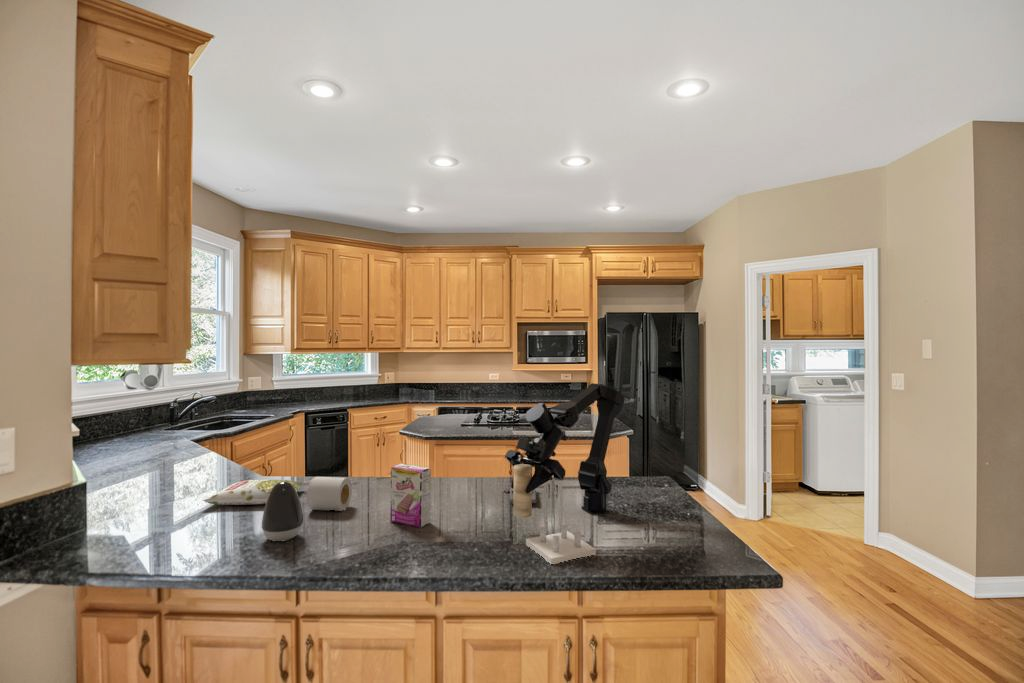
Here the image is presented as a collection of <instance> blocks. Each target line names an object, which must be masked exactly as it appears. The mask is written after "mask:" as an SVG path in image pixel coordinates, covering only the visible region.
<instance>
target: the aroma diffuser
mask: <svg viewBox="0 0 1024 683" xmlns="http://www.w3.org/2000/svg"><path fill="white" fill-rule="evenodd" d="M303 524H304V514H303V509H302V503H301V501H300V496H299V494H298V492H297V490H295V488H294V486H293V485H292V484H291V483H289V482H285V481H283V482H279V483H277V484H276V485H275V486H274V487H273V488H272V490H271V492H270V494H269V496H268V498H267V501H266V504H264V508H263V514H262V519H261V529H262V531H263V534H264V536H265V538H266V539H268V540H269V541H271V540H272V542H275V541H282V540H287V541H289V540H288V539H290V540H292V539H293V538H295V537H296V536H297V535H298V534H299V533H300V531H301V529H302V526H303ZM291 538H292V539H291ZM282 542H283V541H282Z"/></svg>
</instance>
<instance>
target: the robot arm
mask: <svg viewBox="0 0 1024 683" xmlns="http://www.w3.org/2000/svg"><path fill="white" fill-rule="evenodd" d="M625 399H626V398H625V395H624V394H623V393H622V391H621V390H616V389H614V388H611V387H608V386H606V385H605V384H602V383H594V382H593V383H589V385H588V386H586V388H585V389H584V390H582V391H581V392H580V393H578V394H577V395H575V396H574V397H573V398H572V399H570V400H569V401H566V402H562V403H559V404H557V405H555V406H552V407H551V408H550V410H549V409H548V406H546V404H545V403H542V402H539V403H537V405H535V406H532V407H531V408H530V409H527V411H526V413H525V419H526V421H527V422H528V424H529V425H530V426H531V427H532V428H533V430H534V431H535V433H537V434H539V435H538V437H534V439H532V438H527V437H522V436H519V438H518V441H517V444H516V447H515V449H518V450H522V451H523V454H524V455H523V454H522V453H521V452H520V451H518V450H513V449H509V450H507V451H506V453H505V455H504V458H505V459H506V460H507V461H508V462H509V464H510V465H511V466H512V467H513V468H514V465H518V464H527V465H531V466H532V468H534V473H533V474H532V478H531V480H530V482H529V484H528V486H527V488H526V490H525V492H526V493H530V492H531V491H533V490H534V489H535V490H536V489H537V488H539V487H540V486H542V485H544V484H545V483H548V482H549V481H552V480H553V479H555V480H558V481H563V480H564V479H565V476H566V469H565V468H564V466H563V465H562V464H561V463H560V461H559V460H556V459H553V458H551V457H555V456H556V454H557V453H556V452H555V450H556V449H557V447H558V445H559V443H560V442H561V441H564V442H566V441H567V435H566V431H565V430H562V429H561V428H566V429H570V428H572V427H574V426H575V424H576V423H577V422H578V421H579V417H580V414H581V413H582V412H584V411H585V410H586V409H588V408H589V407H590V406H591V405H593V404H594V403H595V402H596V409H597V411H598V418H597V422H596V426H595V430H594V434H593V437H592V441H591V442H592V443H591V445H590V446H591V447H590V451H589V456H588V458H586V460H581V461H580V464H579V468H578V470H577V474H578V475H577V479H578V480H577V481H578V484H579V488H580V490H583V491H584V495H583V506H581V509H582V510H584V511H585V512H587V513H589V514H591V515H596V514H597V515H598V514H602V513H604V514H605V513H609V512H610V509H609V508H607V495H610V493H611V492H612V486H613V485H612V483H611V482H610V481H609V479H608V478H607V473H608V470H607V466H606V464H605V460H606V459H605V458H606V455H607V451H608V447H609V442H610V439H611V438H610V437H611V433H612V429H613V426H614V421H615V418H616V417H617V416H619V414H620V413H621V411H622V409H623V406H624V403H625V401H626V400H625ZM525 456H526V457H525ZM512 474H513V476H512V481H511V483H510V484H511V486H510V487H511V488H512V489H514V473H512Z"/></svg>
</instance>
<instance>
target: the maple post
mask: <svg viewBox="0 0 1024 683" xmlns="http://www.w3.org/2000/svg"><path fill="white" fill-rule="evenodd" d="M513 474H514V494H513V504H512V505H513V510H512V512H513V516H514V517H516V518H529V517H532V514H533V510H532V509H533V506H532V505H533V504H532V491H531V492H530V493H526V492H525V490H526V488H527V486H528V484H529V482H530V480H531V478H532V476H533V467H532V466H531V465H527V464H518V465H514V467H513Z"/></svg>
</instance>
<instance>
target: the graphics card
mask: <svg viewBox="0 0 1024 683" xmlns="http://www.w3.org/2000/svg"><path fill="white" fill-rule="evenodd" d="M511 484H512V483H504V484H501V488H504V489H501V490H502V492H501V493H505V492H504V491H509V492H510V493H509V492H508V493H509V502H510V504H512V505H513V494H514V489H512V488H511ZM536 495H537V491H536V489H534V490H533V491H532V503H534V504H536V503H537V501H536Z"/></svg>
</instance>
